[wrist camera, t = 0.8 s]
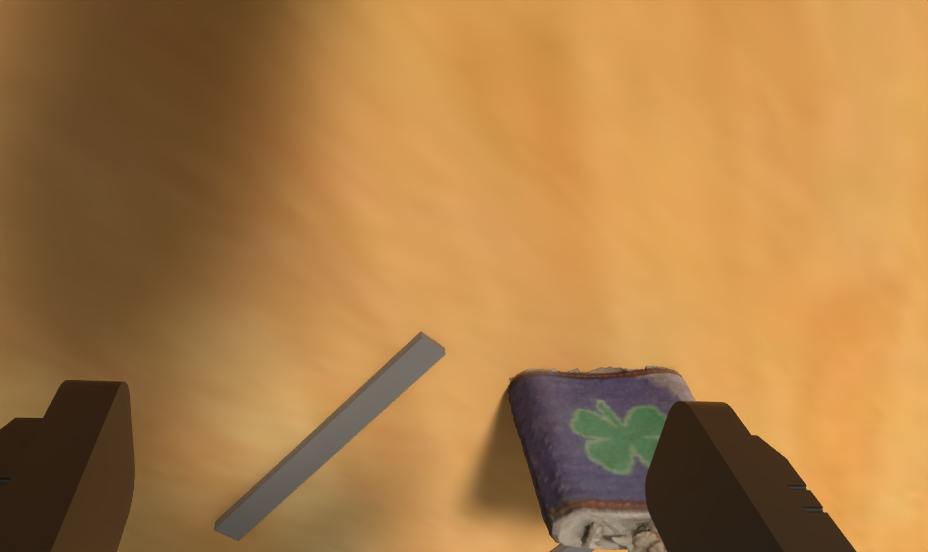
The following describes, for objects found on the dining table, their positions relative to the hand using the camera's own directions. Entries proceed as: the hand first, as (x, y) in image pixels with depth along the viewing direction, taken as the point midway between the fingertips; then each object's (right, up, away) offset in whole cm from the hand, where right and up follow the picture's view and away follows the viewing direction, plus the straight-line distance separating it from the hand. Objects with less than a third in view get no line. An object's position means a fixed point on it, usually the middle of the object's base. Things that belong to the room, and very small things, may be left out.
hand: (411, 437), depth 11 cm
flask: (+7, -3, +27) cm, 28 cm away
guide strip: (-6, -6, +26) cm, 28 cm away
